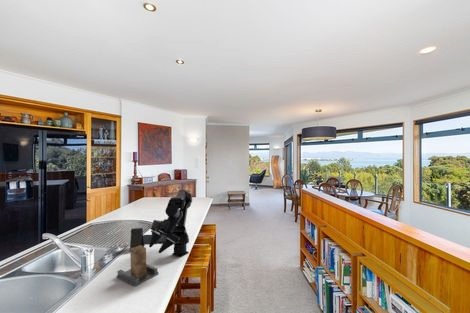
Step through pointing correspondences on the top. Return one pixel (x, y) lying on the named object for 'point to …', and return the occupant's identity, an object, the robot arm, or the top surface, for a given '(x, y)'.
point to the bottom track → (135, 280)
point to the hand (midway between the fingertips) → (154, 250)
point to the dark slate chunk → (148, 238)
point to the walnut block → (138, 261)
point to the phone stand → (137, 237)
